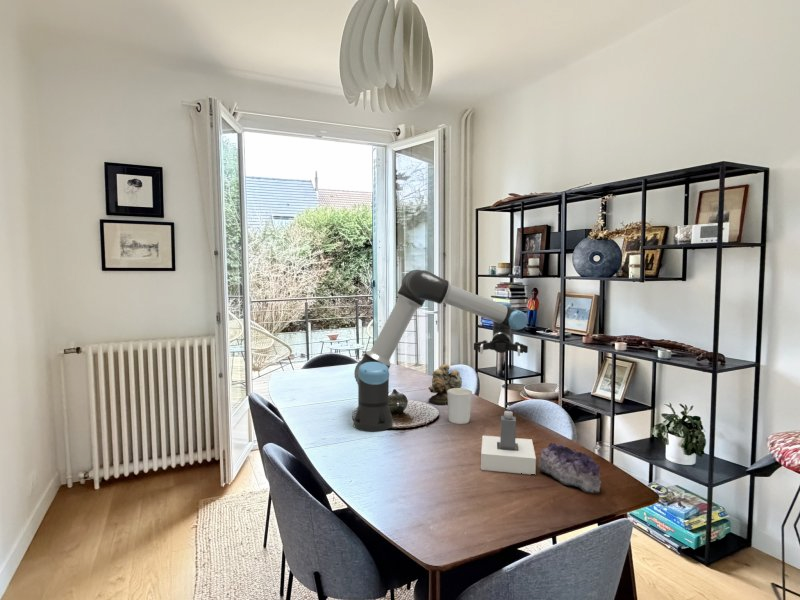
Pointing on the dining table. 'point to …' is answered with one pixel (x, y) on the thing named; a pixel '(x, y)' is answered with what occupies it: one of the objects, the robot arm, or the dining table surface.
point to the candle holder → (459, 405)
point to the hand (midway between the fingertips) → (499, 351)
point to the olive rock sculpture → (443, 384)
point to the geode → (570, 467)
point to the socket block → (508, 456)
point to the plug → (508, 431)
